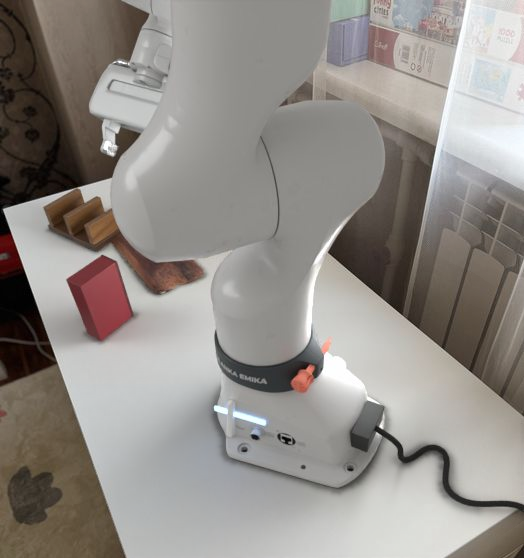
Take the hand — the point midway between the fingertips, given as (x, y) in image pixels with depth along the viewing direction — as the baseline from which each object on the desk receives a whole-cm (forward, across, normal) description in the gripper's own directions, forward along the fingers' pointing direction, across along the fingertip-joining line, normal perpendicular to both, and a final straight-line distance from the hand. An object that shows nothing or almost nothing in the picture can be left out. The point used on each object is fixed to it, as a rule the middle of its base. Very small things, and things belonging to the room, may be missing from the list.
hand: (129, 162), depth 78 cm
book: (+24, +1, +7) cm, 25 cm away
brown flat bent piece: (+12, -8, +20) cm, 25 cm away
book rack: (+12, -23, +19) cm, 33 cm away
